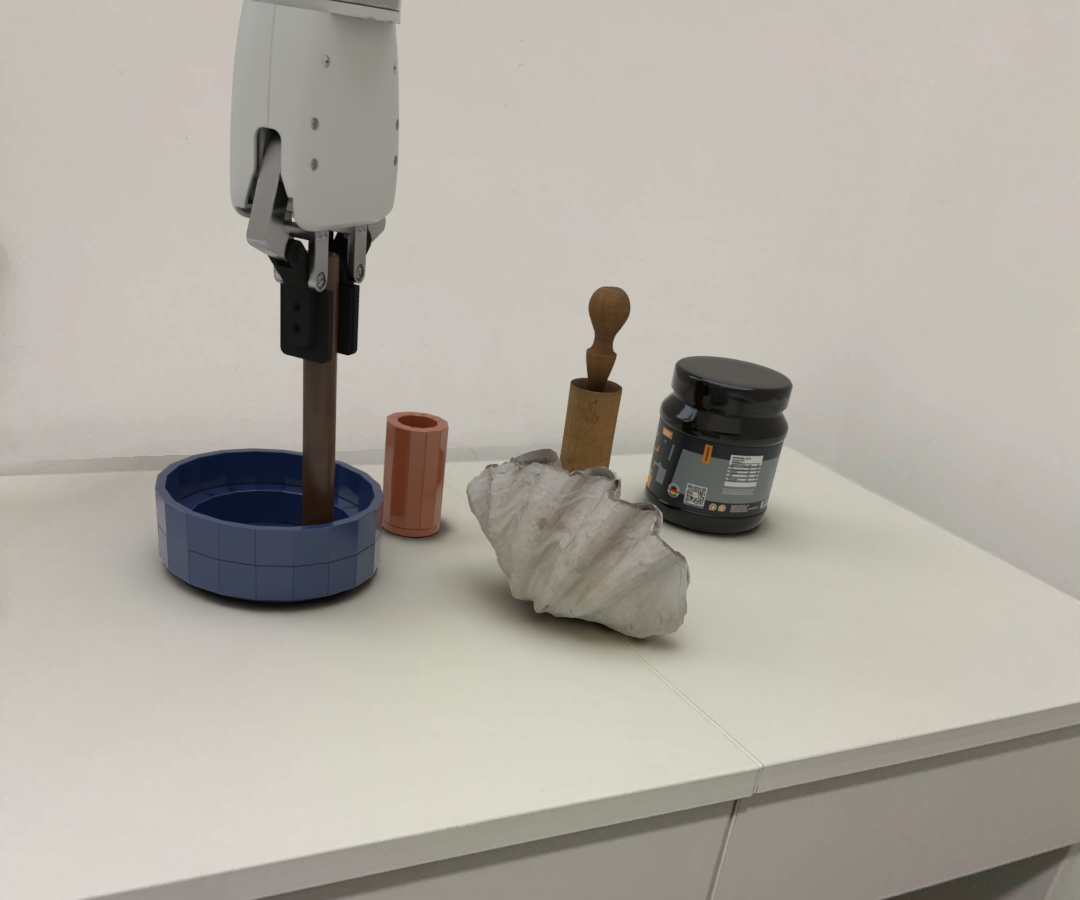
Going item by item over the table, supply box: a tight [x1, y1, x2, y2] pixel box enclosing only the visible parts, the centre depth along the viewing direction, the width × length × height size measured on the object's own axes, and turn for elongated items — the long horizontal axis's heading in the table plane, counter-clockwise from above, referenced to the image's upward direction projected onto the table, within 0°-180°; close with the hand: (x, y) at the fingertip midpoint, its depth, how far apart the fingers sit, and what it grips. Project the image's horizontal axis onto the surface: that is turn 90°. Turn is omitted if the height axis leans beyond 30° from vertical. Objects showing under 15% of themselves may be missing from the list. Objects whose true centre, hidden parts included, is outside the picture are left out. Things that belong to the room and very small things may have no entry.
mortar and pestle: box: [559, 285, 631, 473], centre depth 80 cm, size 7×6×18 cm
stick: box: [302, 249, 339, 526], centre depth 65 cm, size 2×2×18 cm
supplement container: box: [644, 355, 794, 535], centre depth 88 cm, size 10×10×12 cm
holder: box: [382, 411, 450, 538], centre depth 78 cm, size 4×4×8 cm
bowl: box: [154, 447, 384, 604], centre depth 70 cm, size 14×14×6 cm
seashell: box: [465, 448, 691, 639], centre depth 69 cm, size 10×15×10 cm
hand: (319, 351), depth 63 cm, fingers closed on stick, 2 cm apart
